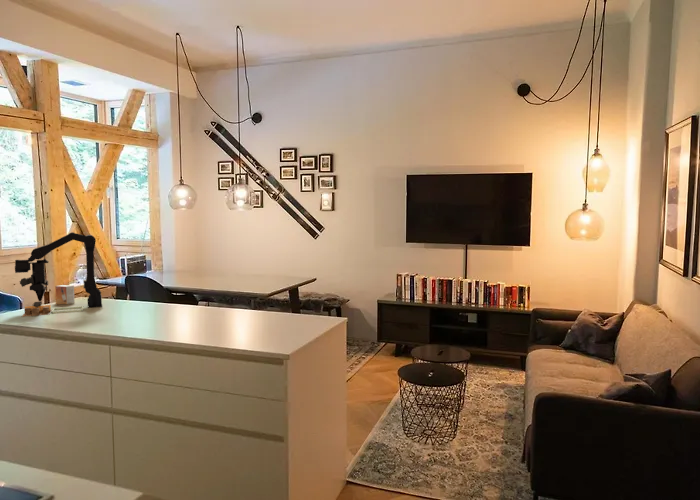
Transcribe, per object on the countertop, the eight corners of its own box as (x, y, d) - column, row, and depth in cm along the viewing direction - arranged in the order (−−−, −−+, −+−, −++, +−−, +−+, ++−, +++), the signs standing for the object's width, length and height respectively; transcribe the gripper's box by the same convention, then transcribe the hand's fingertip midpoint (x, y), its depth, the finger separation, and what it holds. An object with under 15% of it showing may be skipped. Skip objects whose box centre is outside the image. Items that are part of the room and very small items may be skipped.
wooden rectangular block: (50, 311, 262) (50, 304, 262) (49, 312, 259) (49, 305, 259) (26, 312, 258) (25, 305, 258) (24, 314, 255) (24, 307, 254)
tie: (41, 304, 261) (41, 301, 261) (39, 306, 255) (39, 303, 255) (35, 304, 260) (34, 301, 260) (33, 306, 254) (32, 303, 254)
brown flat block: (53, 310, 266) (52, 303, 266) (49, 315, 253) (48, 308, 253) (26, 312, 262) (26, 304, 261) (21, 317, 248) (20, 309, 248)
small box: (55, 304, 284) (54, 286, 283) (63, 302, 289) (63, 284, 288) (66, 305, 282) (66, 286, 281) (75, 303, 287) (74, 285, 286)
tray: (83, 308, 272) (83, 306, 271) (82, 312, 262) (82, 309, 262) (53, 310, 266) (53, 308, 266) (51, 314, 257) (51, 311, 257)
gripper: (23, 270, 269) (25, 299, 270) (17, 274, 252) (18, 305, 253) (47, 269, 273) (49, 297, 275) (42, 273, 257) (44, 303, 258)
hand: (40, 301), depth 265 cm, fingers closed
